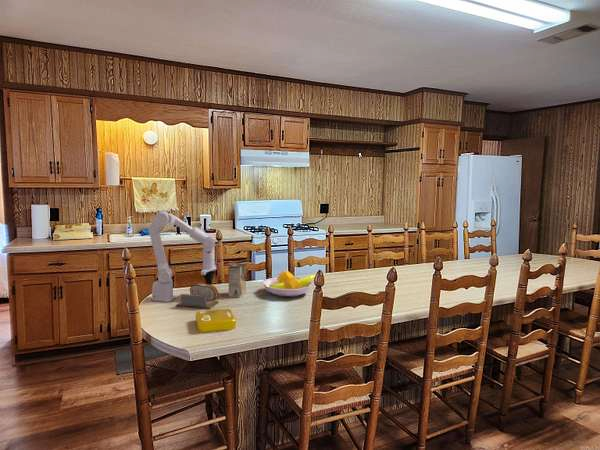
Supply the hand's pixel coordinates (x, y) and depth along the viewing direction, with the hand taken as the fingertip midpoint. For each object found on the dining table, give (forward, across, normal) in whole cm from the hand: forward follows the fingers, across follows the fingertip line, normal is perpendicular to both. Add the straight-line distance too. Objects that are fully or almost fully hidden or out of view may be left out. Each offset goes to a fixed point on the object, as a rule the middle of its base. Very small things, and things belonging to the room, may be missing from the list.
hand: (208, 285), depth 204 cm
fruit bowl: (+6, +16, -39) cm, 43 cm away
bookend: (+6, -18, 0) cm, 19 cm away
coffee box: (+6, +7, -13) cm, 16 cm away
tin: (+6, -6, 0) cm, 9 cm away
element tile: (+7, -36, -18) cm, 40 cm away
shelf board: (+6, -13, 0) cm, 15 cm away
